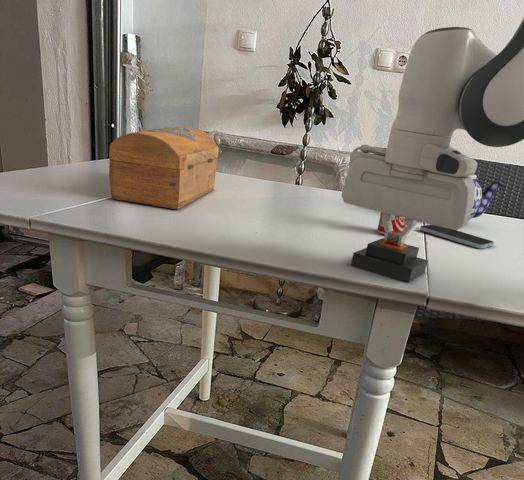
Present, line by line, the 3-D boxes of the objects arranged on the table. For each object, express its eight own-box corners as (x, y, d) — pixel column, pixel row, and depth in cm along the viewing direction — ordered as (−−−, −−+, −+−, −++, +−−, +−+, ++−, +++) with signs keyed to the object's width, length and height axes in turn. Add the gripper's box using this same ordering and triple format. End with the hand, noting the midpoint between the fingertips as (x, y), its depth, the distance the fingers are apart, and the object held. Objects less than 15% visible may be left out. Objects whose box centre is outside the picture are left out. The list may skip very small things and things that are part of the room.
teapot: (398, 220, 124) (414, 156, 117) (391, 208, 137) (404, 150, 131) (501, 234, 123) (522, 171, 116) (483, 221, 136) (501, 164, 130)
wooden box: (156, 180, 131) (157, 121, 125) (217, 190, 129) (222, 131, 123) (101, 198, 104) (100, 125, 98) (178, 211, 102) (181, 137, 96)
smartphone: (481, 245, 105) (418, 226, 114) (479, 249, 106) (417, 230, 115) (496, 242, 110) (434, 223, 119) (494, 246, 110) (433, 227, 120)
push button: (424, 272, 85) (431, 249, 83) (408, 282, 79) (415, 257, 77) (369, 257, 89) (375, 234, 87) (350, 265, 83) (355, 241, 81)
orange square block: (405, 255, 83) (408, 245, 83) (398, 259, 81) (400, 248, 80) (385, 250, 85) (387, 240, 84) (377, 253, 82) (379, 243, 81)
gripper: (344, 142, 78) (328, 230, 84) (478, 166, 69) (449, 264, 75) (361, 142, 83) (344, 226, 89) (488, 165, 74) (460, 257, 80)
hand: (393, 243), depth 82 cm, fingers closed, pressing on orange square block
